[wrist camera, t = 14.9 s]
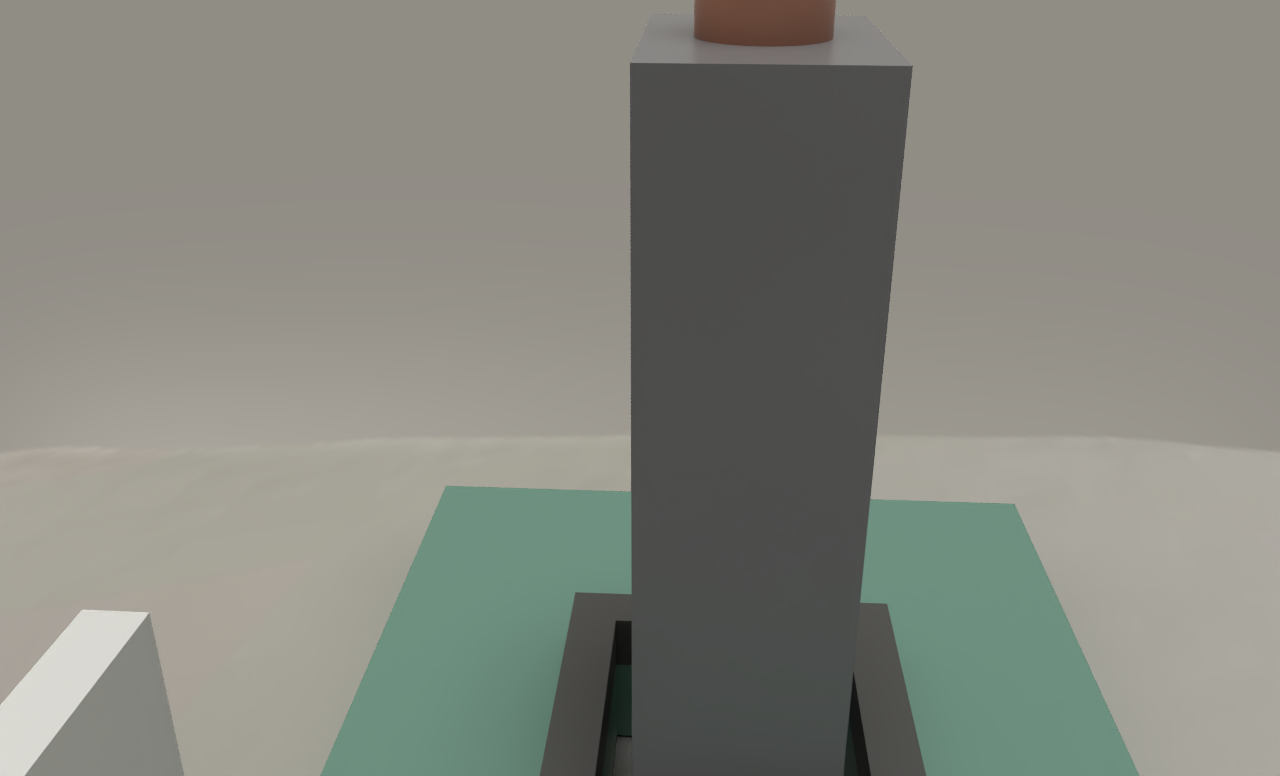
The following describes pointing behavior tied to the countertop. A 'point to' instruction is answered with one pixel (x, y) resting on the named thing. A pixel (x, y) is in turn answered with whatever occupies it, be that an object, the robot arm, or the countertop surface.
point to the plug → (755, 375)
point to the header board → (602, 648)
